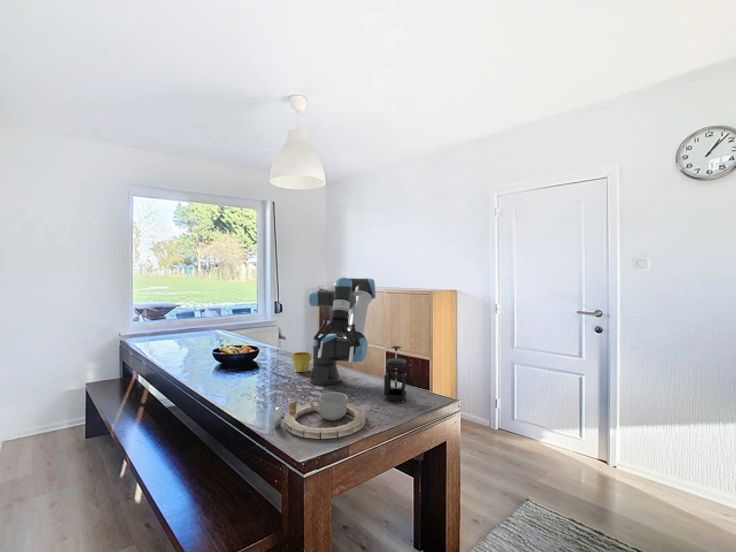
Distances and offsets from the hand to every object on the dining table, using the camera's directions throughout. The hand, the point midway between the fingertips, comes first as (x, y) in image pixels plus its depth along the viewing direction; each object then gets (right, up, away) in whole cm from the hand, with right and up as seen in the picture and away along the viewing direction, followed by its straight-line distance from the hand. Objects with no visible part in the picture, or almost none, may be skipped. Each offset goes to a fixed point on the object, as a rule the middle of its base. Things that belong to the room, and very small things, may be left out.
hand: (335, 360), depth 156 cm
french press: (+25, -18, +5) cm, 32 cm away
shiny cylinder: (-18, -18, -24) cm, 35 cm away
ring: (-2, -18, -19) cm, 26 cm away
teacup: (-1, -19, -15) cm, 24 cm away
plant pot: (-23, -18, +50) cm, 58 cm away
